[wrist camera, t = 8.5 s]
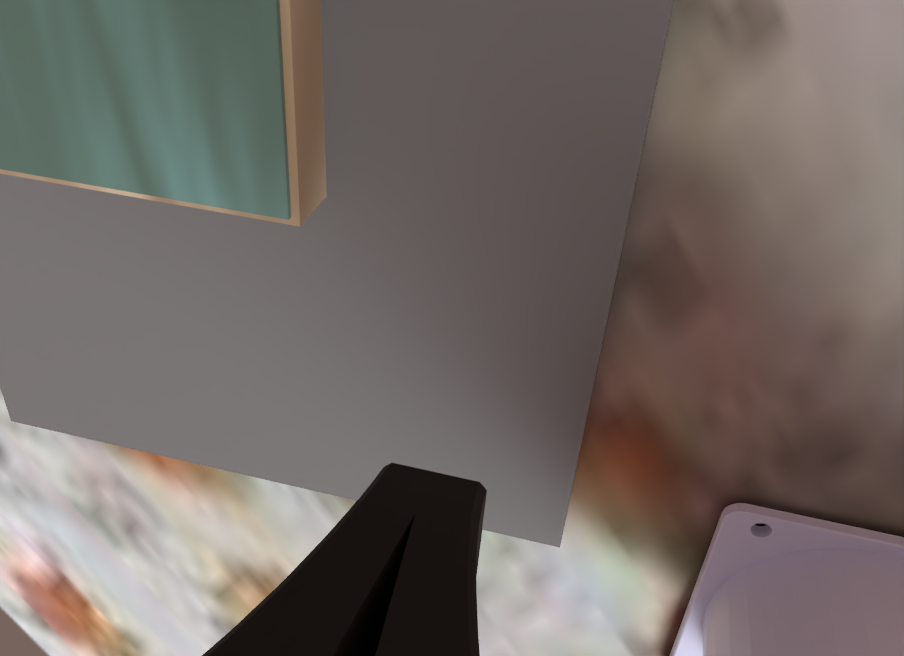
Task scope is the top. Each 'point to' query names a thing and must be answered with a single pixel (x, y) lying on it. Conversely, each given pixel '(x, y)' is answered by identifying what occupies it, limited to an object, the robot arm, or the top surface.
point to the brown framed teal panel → (168, 101)
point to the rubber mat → (365, 268)
